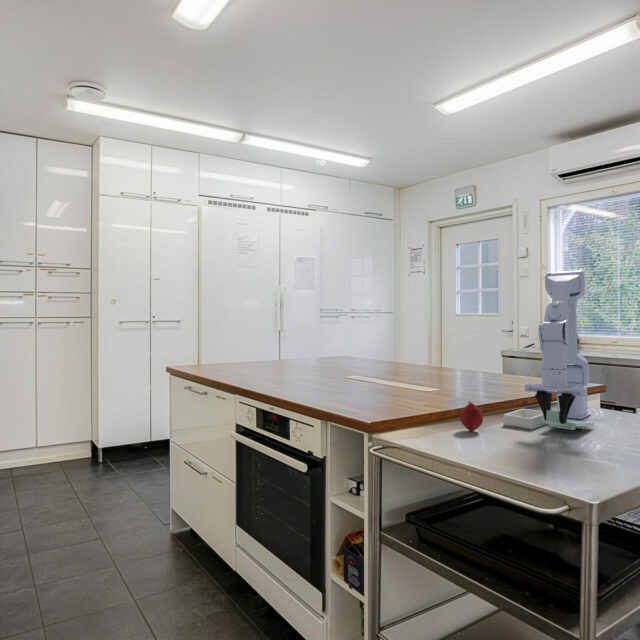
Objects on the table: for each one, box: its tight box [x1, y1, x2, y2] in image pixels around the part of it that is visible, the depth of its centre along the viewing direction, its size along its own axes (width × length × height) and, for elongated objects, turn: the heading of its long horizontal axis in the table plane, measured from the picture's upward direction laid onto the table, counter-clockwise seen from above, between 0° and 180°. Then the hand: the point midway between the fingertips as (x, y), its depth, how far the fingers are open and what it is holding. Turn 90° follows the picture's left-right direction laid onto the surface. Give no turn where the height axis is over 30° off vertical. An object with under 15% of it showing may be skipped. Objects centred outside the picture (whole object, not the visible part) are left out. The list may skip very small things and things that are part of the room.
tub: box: [502, 408, 546, 431], centre depth 138 cm, size 12×8×3 cm, turn 134°
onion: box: [459, 400, 484, 432], centre depth 130 cm, size 6×6×8 cm
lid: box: [541, 409, 594, 431], centre depth 128 cm, size 17×9×4 cm, turn 133°
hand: (555, 422), depth 124 cm, fingers closed on lid, 3 cm apart
